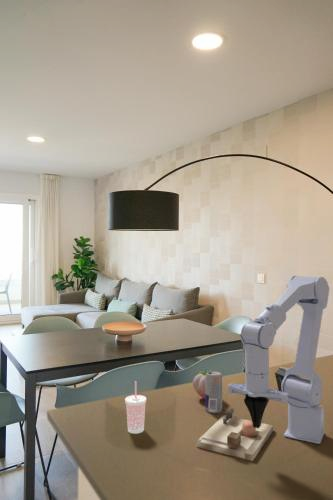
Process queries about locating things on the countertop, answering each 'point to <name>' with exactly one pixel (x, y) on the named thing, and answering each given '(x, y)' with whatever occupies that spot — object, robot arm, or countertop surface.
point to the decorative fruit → (200, 383)
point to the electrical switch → (281, 376)
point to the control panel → (223, 427)
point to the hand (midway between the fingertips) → (257, 426)
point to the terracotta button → (248, 429)
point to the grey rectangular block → (229, 414)
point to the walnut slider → (234, 440)
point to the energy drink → (213, 391)
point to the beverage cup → (135, 412)
